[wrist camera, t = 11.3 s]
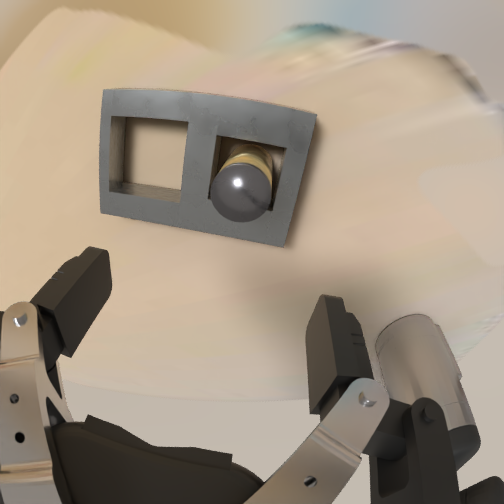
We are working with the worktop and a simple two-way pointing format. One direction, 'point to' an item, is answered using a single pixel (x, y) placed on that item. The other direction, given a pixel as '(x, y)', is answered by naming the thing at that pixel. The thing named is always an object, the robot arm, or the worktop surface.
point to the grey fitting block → (202, 159)
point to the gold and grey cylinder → (243, 184)
